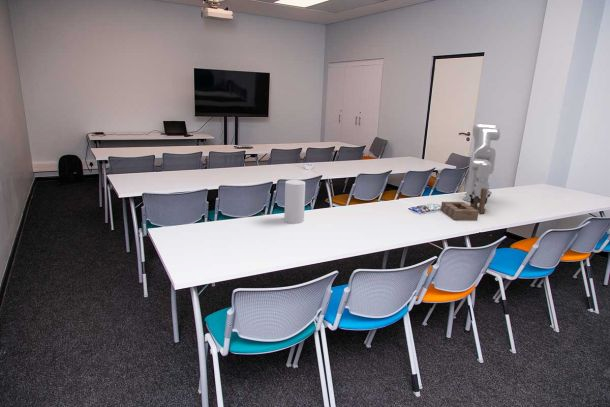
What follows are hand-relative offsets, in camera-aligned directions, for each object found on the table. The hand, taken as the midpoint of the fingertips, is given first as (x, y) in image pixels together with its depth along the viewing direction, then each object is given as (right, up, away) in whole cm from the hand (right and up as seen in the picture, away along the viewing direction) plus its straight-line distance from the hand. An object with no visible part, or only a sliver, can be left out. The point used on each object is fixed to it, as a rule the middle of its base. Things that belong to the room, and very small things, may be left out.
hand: (478, 203), depth 287 cm
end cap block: (-17, -8, -8) cm, 21 cm away
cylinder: (-131, -11, -32) cm, 136 cm away
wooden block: (0, -6, +2) cm, 7 cm away
